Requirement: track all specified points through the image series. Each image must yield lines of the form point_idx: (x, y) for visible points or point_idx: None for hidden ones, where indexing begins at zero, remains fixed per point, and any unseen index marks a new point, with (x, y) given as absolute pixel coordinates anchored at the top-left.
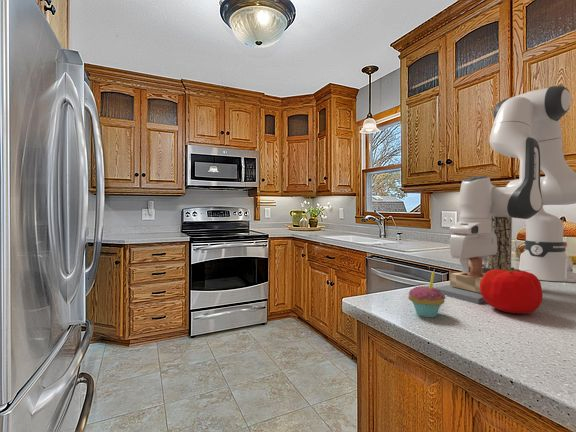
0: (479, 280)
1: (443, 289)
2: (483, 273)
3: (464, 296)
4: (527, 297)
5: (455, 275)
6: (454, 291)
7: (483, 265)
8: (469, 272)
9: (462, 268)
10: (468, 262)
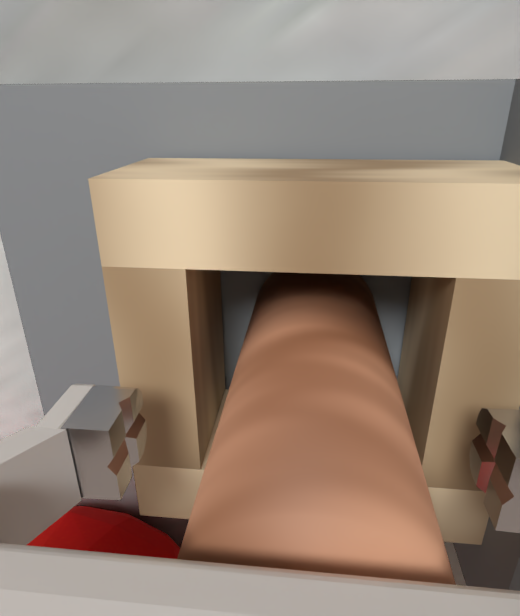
0: (141, 487)
1: (11, 183)
2: (503, 403)
3: (40, 368)
4: None
5: (105, 253)
6: (51, 276)
7: (492, 511)
8: (231, 381)
9: (55, 406)
10: (210, 463)
